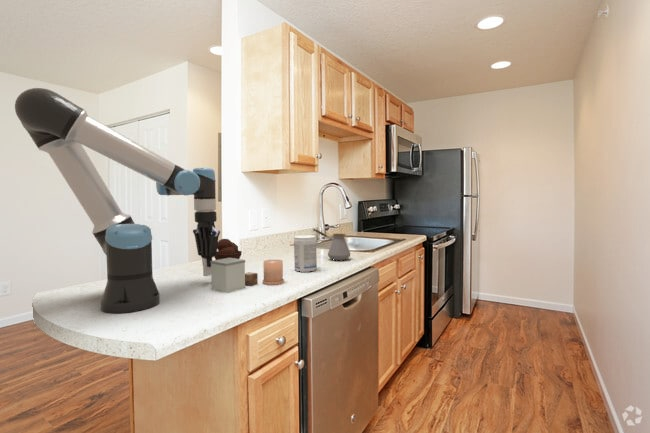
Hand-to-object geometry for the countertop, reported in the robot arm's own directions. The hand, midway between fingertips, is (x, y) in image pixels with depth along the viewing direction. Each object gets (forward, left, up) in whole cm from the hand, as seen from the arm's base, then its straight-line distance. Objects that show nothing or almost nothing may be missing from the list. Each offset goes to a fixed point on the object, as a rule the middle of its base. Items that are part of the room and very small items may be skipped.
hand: (207, 275), depth 131 cm
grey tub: (0, -12, -3) cm, 12 cm away
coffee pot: (+68, -8, -3) cm, 68 cm away
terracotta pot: (+15, -19, -3) cm, 24 cm away
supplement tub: (+39, -15, -3) cm, 42 cm away
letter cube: (+8, -14, -3) cm, 16 cm away
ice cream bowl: (+13, +4, -3) cm, 14 cm away
